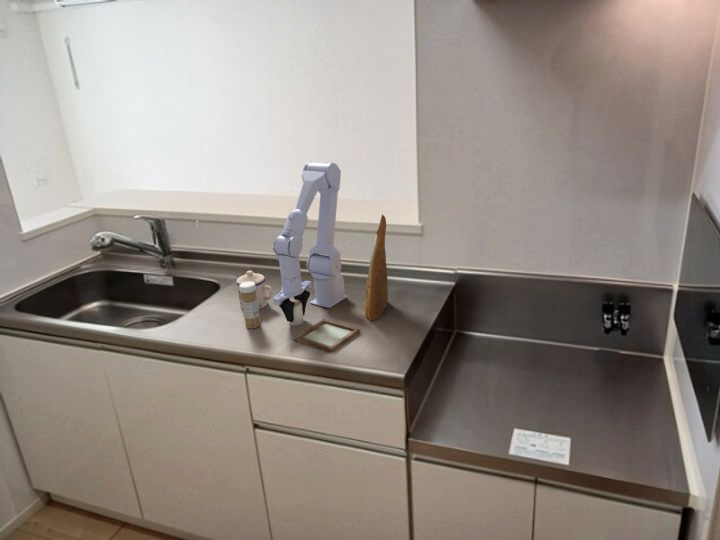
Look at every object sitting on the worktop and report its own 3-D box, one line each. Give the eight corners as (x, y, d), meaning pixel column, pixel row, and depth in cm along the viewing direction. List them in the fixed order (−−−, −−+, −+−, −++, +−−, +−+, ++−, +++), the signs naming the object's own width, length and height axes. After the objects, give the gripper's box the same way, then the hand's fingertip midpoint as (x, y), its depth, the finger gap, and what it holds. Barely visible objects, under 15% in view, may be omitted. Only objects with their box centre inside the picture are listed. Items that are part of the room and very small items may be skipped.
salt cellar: (295, 317, 172) (293, 297, 170) (306, 320, 169) (304, 300, 167) (285, 323, 169) (283, 303, 166) (296, 326, 166) (294, 306, 164)
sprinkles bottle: (256, 320, 172) (250, 279, 167) (263, 325, 168) (258, 283, 163) (242, 325, 169) (236, 284, 164) (250, 330, 166) (243, 288, 161)
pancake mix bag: (396, 297, 181) (392, 212, 171) (383, 324, 164) (378, 232, 154) (375, 296, 183) (371, 212, 173) (360, 323, 166) (354, 231, 156)
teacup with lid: (234, 309, 180) (229, 275, 176) (249, 297, 188) (244, 265, 184) (267, 313, 176) (262, 278, 172) (281, 301, 184) (277, 268, 179)
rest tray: (324, 322, 168) (323, 318, 167) (360, 332, 161) (359, 328, 160) (294, 341, 158) (294, 337, 158) (331, 352, 151) (331, 348, 150)
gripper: (297, 265, 171) (301, 305, 176) (263, 281, 160) (268, 324, 165) (315, 269, 167) (319, 310, 172) (281, 286, 156) (286, 330, 161)
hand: (295, 317), depth 169 cm, fingers closed on salt cellar, 4 cm apart
